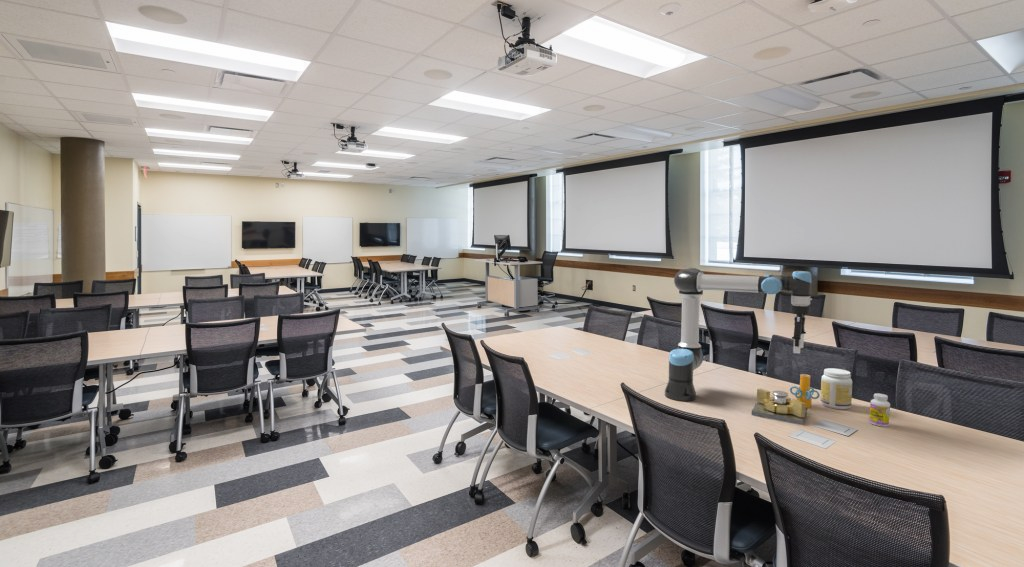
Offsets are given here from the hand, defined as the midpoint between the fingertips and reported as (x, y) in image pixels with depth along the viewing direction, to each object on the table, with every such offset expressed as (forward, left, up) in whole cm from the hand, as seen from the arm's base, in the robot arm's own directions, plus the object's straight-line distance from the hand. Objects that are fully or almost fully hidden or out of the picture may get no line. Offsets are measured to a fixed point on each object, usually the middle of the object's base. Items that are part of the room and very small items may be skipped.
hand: (798, 350), depth 216 cm
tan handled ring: (-5, -11, -26) cm, 28 cm away
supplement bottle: (+31, 0, -28) cm, 42 cm away
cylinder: (+3, +7, -28) cm, 29 cm away
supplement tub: (+15, +16, -28) cm, 36 cm away
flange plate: (-5, -11, -28) cm, 31 cm away
